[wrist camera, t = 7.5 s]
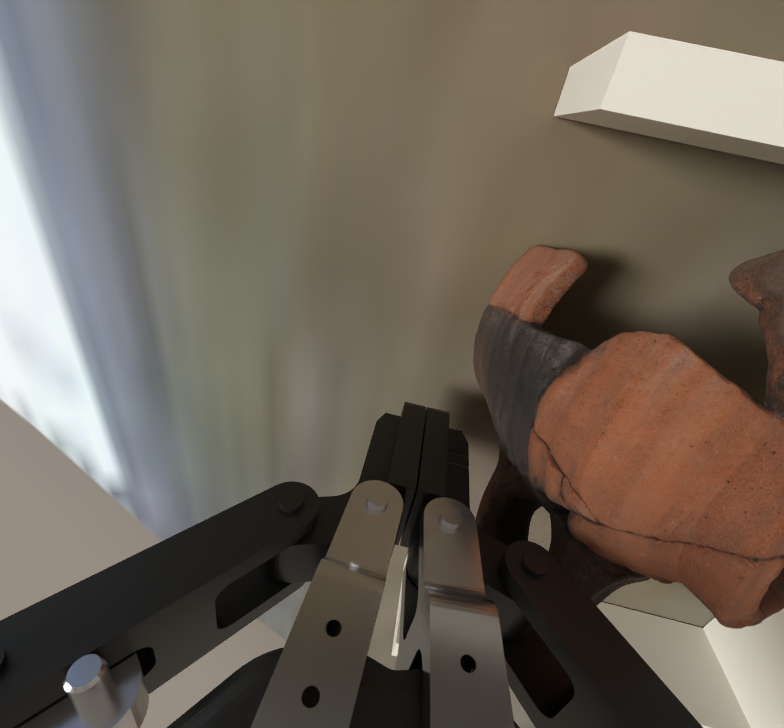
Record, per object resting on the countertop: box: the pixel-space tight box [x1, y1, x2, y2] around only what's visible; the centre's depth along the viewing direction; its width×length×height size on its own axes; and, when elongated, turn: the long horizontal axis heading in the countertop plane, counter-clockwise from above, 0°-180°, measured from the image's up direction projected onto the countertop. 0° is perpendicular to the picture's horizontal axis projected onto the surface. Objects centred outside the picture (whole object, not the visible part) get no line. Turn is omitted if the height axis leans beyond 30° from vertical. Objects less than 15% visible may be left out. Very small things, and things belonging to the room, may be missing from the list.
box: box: [392, 31, 784, 728], centre depth 13 cm, size 15×20×4 cm
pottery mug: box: [474, 245, 784, 629], centre depth 11 cm, size 12×9×8 cm
